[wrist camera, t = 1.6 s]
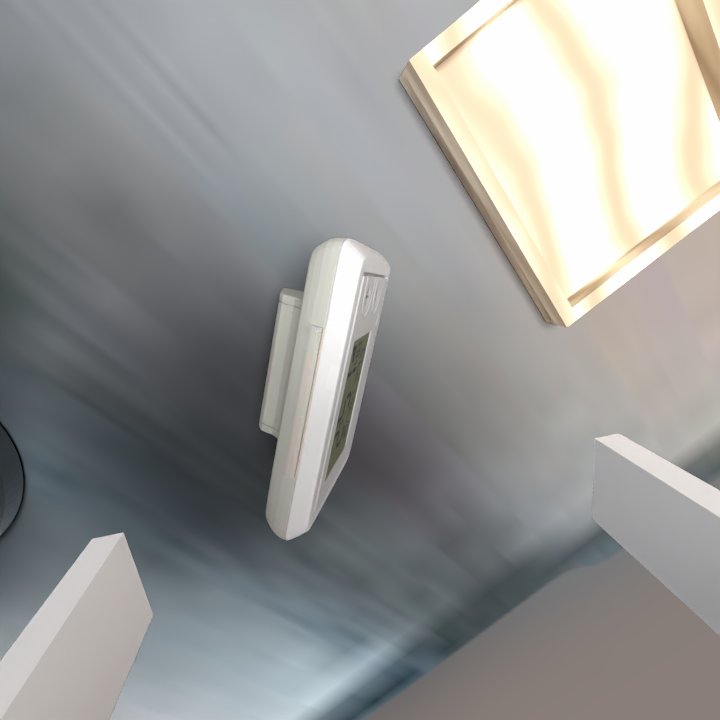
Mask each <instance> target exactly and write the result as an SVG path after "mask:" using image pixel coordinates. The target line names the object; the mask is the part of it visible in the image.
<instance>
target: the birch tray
mask: <svg viewBox="0 0 720 720" xmlns="http://www.w3.org/2000/svg"><path fill="white" fill-rule="evenodd" d="M399 80H400V82H401V83H402V85H403V87H404V88H405V90H406V92H407V93H408V95H409V97H410V98H411V100H412V101H413V103H414V105H415V106H416V108H417V110H418V111H419V113H420V115H421V116H422V118H423V120H424V121H425V123H426V125H427V126H428V128H429V129H430V131H431V133H432V134H433V136H434V138H435V139H436V141H437V143H438V144H439V146H440V148H441V149H442V151H443V153H444V154H445V156H446V157H447V159H448V161H449V162H450V164H451V166H452V167H453V169H454V171H455V172H456V174H457V176H458V177H459V179H460V181H461V182H462V184H463V186H464V187H465V189H466V190H467V192H468V194H469V195H470V197H471V199H472V200H473V202H474V204H475V205H476V207H477V209H478V210H479V212H480V214H481V215H482V217H483V218H484V220H485V222H486V223H487V225H488V227H489V228H490V230H491V232H492V233H493V235H494V237H495V238H496V240H497V242H498V243H499V245H500V246H501V248H502V250H503V251H504V253H505V255H506V256H507V258H508V260H509V261H510V263H511V265H512V266H513V268H514V270H515V271H516V273H517V275H518V276H519V278H520V279H521V281H522V283H523V284H524V286H525V288H526V289H527V291H528V293H529V294H530V296H531V298H532V299H533V301H534V303H535V304H536V306H537V307H538V309H539V311H540V312H541V314H542V316H543V317H544V319H545V321H546V322H549V323H553V324H556V325H560V326H564V327H568V326H569V325H571V324H572V323H573V322H575V321H576V320H577V319H578V318H580V317H581V316H582V315H584V314H585V313H586V312H588V311H589V310H590V309H591V308H593V307H594V306H595V305H597V304H598V303H599V302H601V301H602V300H603V299H604V298H606V297H607V296H608V295H610V294H611V293H612V292H614V291H615V290H616V289H617V288H619V287H620V286H621V285H623V284H624V283H625V282H627V281H628V280H629V279H630V278H632V277H633V276H634V275H636V274H637V273H638V272H639V271H641V270H642V269H643V268H645V267H646V266H647V265H649V264H650V263H651V262H652V261H654V260H655V259H656V258H658V257H659V256H660V255H662V254H663V253H664V252H665V251H667V250H668V249H669V248H671V247H672V246H673V245H675V244H676V243H677V242H678V241H680V240H681V239H682V238H684V237H685V236H686V235H687V234H689V233H690V232H691V231H693V230H694V229H695V228H697V227H698V226H699V225H700V224H702V223H703V222H704V221H706V220H707V219H708V218H710V217H711V216H712V215H713V214H715V213H716V212H717V211H719V210H720V0H481V1H479V2H478V3H477V4H476V5H475V6H473V7H472V8H471V9H470V10H469V11H468V12H466V13H465V14H464V15H463V16H462V17H460V18H459V19H458V20H457V21H456V22H454V23H453V24H452V25H451V26H450V27H448V28H447V29H446V30H445V31H444V32H442V33H441V34H440V35H439V36H438V37H436V38H435V39H434V40H433V41H432V42H430V43H429V44H428V45H427V46H426V47H424V48H423V49H422V50H421V51H420V52H418V53H417V54H416V55H415V56H414V57H412V58H411V59H410V60H409V62H408V63H407V65H406V67H405V69H404V71H403V73H402V74H401V76H400V78H399Z"/></svg>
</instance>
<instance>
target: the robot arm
mask: <svg viewBox="0 0 720 720" xmlns="http://www.w3.org/2000/svg"><path fill="white" fill-rule="evenodd" d="M22 494H23V473H22V467H21V463H20V460H19V457H18V454H17V451H16V449H15V447H14V445H13V443H12V441H11V440H10V438H9V436H8V435H7V433H6V432H5V431H4V429H3V428H2V427H1V425H0V536H1V534H2V533H3V532H4V531H5V530H6V529H7V528H8V527H9V525H10V524H11V522H12V521H13V519H14V517H15V516H16V514H17V511H18V509H19V506H20V503H21V499H22ZM592 519H593V520H594V521H595V522H596V523H597V524H598V525H599V526H601V527H602V528H603V529H604V530H605V531H606V532H607V533H608V534H609V535H610V536H611V537H613V538H614V539H615V540H616V541H617V542H618V543H619V544H620V545H621V546H622V547H623V548H625V549H626V550H627V551H628V552H629V553H630V554H631V555H632V556H633V557H634V558H636V559H637V560H638V561H639V562H640V563H641V564H642V565H643V566H644V567H645V568H646V569H648V570H649V571H650V572H651V573H652V574H653V575H654V576H655V577H656V578H657V579H659V580H660V581H661V582H662V583H663V584H664V585H665V586H666V587H667V588H668V589H669V590H670V591H672V592H673V593H674V594H675V595H676V596H677V597H678V598H679V599H680V600H681V601H682V602H684V603H685V604H686V605H687V606H688V607H689V608H690V609H691V610H692V611H693V612H694V613H696V614H697V615H698V616H699V617H700V618H701V619H702V620H703V621H704V622H705V623H706V624H708V625H709V626H710V627H711V628H712V629H713V630H714V631H715V632H716V633H717V634H719V635H720V491H719V490H718V489H716V488H714V487H712V486H711V485H709V484H707V483H705V482H704V481H702V480H700V479H698V478H696V477H695V476H693V475H691V474H689V473H688V472H686V471H684V470H682V469H681V468H679V467H677V466H675V465H673V464H672V463H670V462H668V461H666V460H665V459H663V458H661V457H659V456H658V455H656V454H654V453H652V452H651V451H649V450H647V449H645V448H643V447H642V446H640V445H638V444H636V443H635V442H633V441H631V440H629V439H628V438H626V437H624V436H622V435H621V434H614V435H609V436H604V437H599V438H595V441H594V470H593V498H592ZM152 617H153V613H152V610H151V607H150V604H149V602H148V599H147V596H146V593H145V591H144V588H143V585H142V582H141V580H140V577H139V574H138V571H137V569H136V566H135V563H134V560H133V558H132V555H131V552H130V549H129V546H128V544H127V541H126V538H125V535H124V533H118V534H113V535H108V536H103V537H98V538H93V539H92V540H91V541H90V542H89V544H88V545H87V546H86V548H85V549H84V550H83V552H82V553H81V554H80V556H79V557H78V558H77V560H76V561H75V562H74V564H73V565H72V566H71V568H70V569H69V570H68V572H67V573H66V574H65V576H64V577H63V578H62V580H61V581H60V582H59V584H58V585H57V586H56V588H55V589H54V590H53V592H52V593H51V594H50V596H49V597H48V598H47V600H46V601H45V602H44V604H43V605H42V606H41V608H40V609H39V610H38V612H37V613H36V614H35V615H34V617H33V618H32V619H31V621H30V622H29V623H28V625H27V626H26V627H25V629H24V630H23V631H22V633H21V634H20V635H19V637H18V638H17V639H16V641H15V642H14V643H13V645H12V646H11V647H10V649H9V650H8V651H7V653H6V654H5V655H4V657H3V658H2V659H1V661H0V720H109V719H110V717H111V714H112V712H113V710H114V707H115V705H116V703H117V700H118V698H119V695H120V693H121V691H122V688H123V686H124V684H125V681H126V679H127V676H128V674H129V672H130V669H131V667H132V665H133V662H134V660H135V657H136V655H137V653H138V650H139V648H140V646H141V643H142V641H143V639H144V636H145V634H146V631H147V629H148V627H149V624H150V622H151V620H152Z"/></svg>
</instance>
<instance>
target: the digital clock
mask: <svg viewBox="0 0 720 720" xmlns="http://www.w3.org/2000/svg"><path fill="white" fill-rule="evenodd" d="M389 275H390V265H389V264H388V263H387V261H386V260H385V259H384V258H383V257H382V255H381V254H380V253H378V252H377V251H375V250H373V249H371V248H369V247H367V246H365V245H363V244H361V243H359V242H357V241H355V240H353V239H350V238H341V237H338V238H332V239H330V240H328V241H325V242H323V243H322V244H320V245H319V246H317V247H316V248H315V250H314V251H313V252H312V255H311V258H310V262H309V266H308V272H307V277H306V283H305V288H304V291H300V290H295V289H290V288H283V289H282V290H281V292H280V296H279V303H278V309H277V316H276V322H275V328H274V334H273V340H272V347H271V353H270V359H269V365H268V371H267V377H266V384H265V390H264V396H263V402H262V408H261V414H260V420H259V427H260V429H261V430H262V431H264V432H267V433H269V434H272V435H273V436H275V437H276V438H277V439H278V441H277V447H276V452H275V458H274V464H273V469H272V475H271V481H270V487H269V493H268V499H267V505H266V518H267V521H268V523H269V525H270V527H271V529H272V530H273V532H274V533H275V534H276V535H277V536H278V537H280V538H282V539H284V540H286V541H287V540H290V539H293V538H295V537H297V536H299V535H301V534H303V533H305V532H307V531H308V530H309V529H310V528H311V526H312V524H313V522H314V521H315V519H316V517H317V515H318V513H319V512H320V510H321V508H322V506H323V504H324V502H325V500H326V499H327V497H328V495H329V493H330V491H331V489H332V487H333V486H334V484H335V482H336V480H337V478H338V476H339V474H340V473H341V471H342V469H343V467H344V465H345V463H346V461H347V459H348V456H349V453H350V449H351V445H352V441H353V437H354V432H355V428H356V423H357V419H358V414H359V410H360V405H361V401H362V397H363V392H364V388H365V383H366V379H367V374H368V370H369V365H370V361H371V356H372V352H373V347H374V343H375V338H376V334H377V329H378V325H379V321H380V316H381V312H382V307H383V303H384V298H385V294H386V289H387V284H388V280H389Z"/></svg>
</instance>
